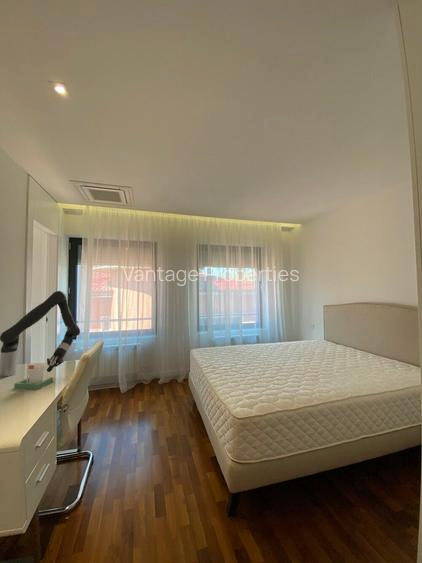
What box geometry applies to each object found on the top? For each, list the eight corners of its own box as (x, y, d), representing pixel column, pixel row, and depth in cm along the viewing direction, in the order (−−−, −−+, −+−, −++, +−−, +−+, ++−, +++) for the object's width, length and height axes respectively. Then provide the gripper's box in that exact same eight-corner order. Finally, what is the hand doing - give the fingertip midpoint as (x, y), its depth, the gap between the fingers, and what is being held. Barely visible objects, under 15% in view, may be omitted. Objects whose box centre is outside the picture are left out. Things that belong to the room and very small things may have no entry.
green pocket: (14, 388, 147) (15, 364, 148) (31, 380, 159) (32, 358, 160) (37, 389, 145) (38, 365, 146) (52, 382, 158) (54, 359, 159)
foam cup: (47, 382, 157) (49, 363, 158) (36, 387, 148) (37, 367, 149) (35, 381, 158) (36, 362, 159) (23, 387, 149) (24, 366, 150)
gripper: (51, 346, 175) (36, 368, 162) (67, 347, 173) (54, 369, 161) (56, 352, 180) (42, 373, 167) (72, 353, 179) (59, 374, 166)
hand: (48, 371), depth 164 cm, fingers closed
